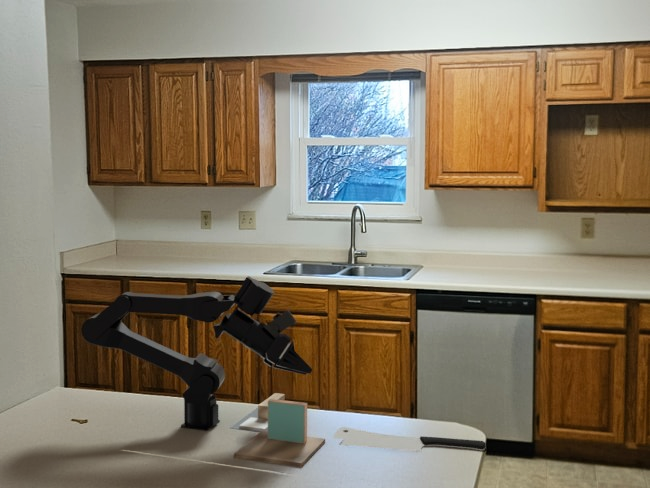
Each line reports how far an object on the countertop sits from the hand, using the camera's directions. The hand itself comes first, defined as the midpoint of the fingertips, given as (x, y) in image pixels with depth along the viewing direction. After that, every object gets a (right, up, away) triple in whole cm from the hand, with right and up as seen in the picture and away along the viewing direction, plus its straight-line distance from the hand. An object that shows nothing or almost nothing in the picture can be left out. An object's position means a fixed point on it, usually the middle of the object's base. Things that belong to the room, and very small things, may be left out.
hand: (309, 372), depth 168 cm
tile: (-4, -8, -9) cm, 13 cm away
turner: (-10, -12, +7) cm, 17 cm away
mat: (-10, -12, +7) cm, 17 cm away
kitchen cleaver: (+20, -14, -7) cm, 26 cm away
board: (-5, -14, -11) cm, 19 cm away
